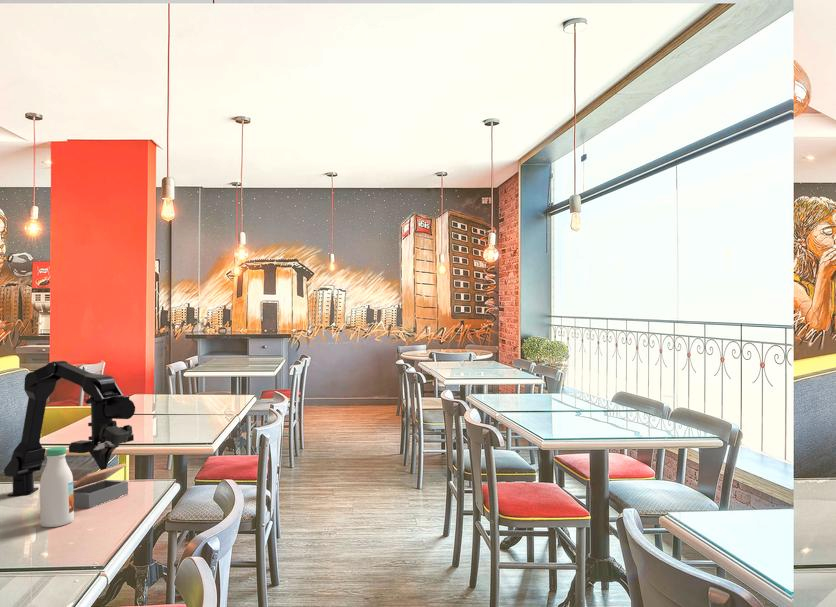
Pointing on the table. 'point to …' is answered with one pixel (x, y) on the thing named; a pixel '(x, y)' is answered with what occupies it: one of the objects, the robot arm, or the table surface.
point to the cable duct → (99, 493)
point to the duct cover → (97, 476)
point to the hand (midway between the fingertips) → (103, 470)
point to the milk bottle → (56, 490)
